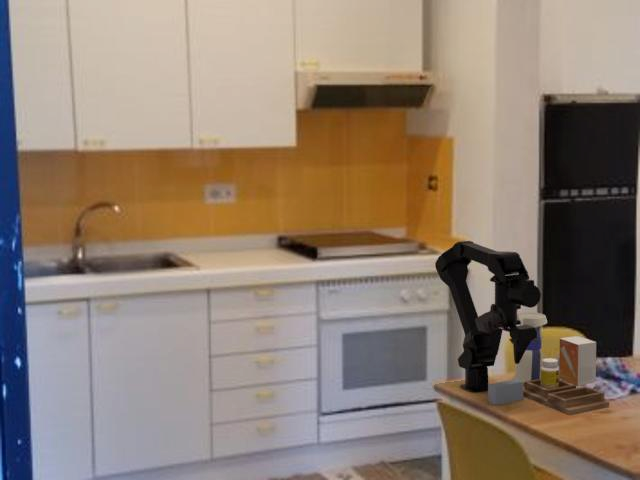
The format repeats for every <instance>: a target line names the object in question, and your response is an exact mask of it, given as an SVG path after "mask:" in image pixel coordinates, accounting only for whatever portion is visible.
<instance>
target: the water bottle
mask: <svg viewBox="0 0 640 480" xmlns="http://www.w3.org/2000/svg"><path fill="white" fill-rule="evenodd" d="M517 320H520V321H521V324H520V325H519V326H522V325H528V326H532V327H535V328H536V329H537V338H535V339H534V341H531V342H530V344H529V346H528V347H527V349H526V351H525V353H524V355H523V357H522V359H521V360H520V362H519V364H514V365H515V367H514V375H513V376H514V377H513V380H514V379H517V380H520V381H522V382H523V387H524V382H526V381H532V380H537V379H541V367H542V366H543V365H542V360H543V349H542V342H543V341H542V340H543V339H544V335H543V333H542V329H543V326H545V325H547V324H548V320H547V316H546V315H545V314H543V313H540V312H536V311H535V312H533V311H527V312H525V311H524V312H520V313H517Z"/></svg>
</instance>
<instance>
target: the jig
mask: <svg viewBox="0 0 640 480" xmlns="http://www.w3.org/2000/svg"><path fill="white" fill-rule="evenodd" d="M524 397H525V398H527V399H528V400H532V401H534V402H537V403H539V404H542V405H544V406H546V407H549V408H551V409H554V410H556V411H558V412H561V413H563V414H566V415H568V416H571V415H575V414H580V413H586V412H590V411H595V410H601V409H604V408H609V407H610V401H607V400H605V392H603V391H600V390H598V389H596V388H590V387H587V386H586V387H580V388H576V385H574V384H571V383H568V382H565V381H563V380H560V379H559V387H558V388H552V389H546V388H543V387H541V379H537V380H532V381H526V382H524V386H523V398H524Z"/></svg>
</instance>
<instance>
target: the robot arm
mask: <svg viewBox="0 0 640 480" xmlns="http://www.w3.org/2000/svg"><path fill="white" fill-rule="evenodd" d="M472 262H475V263H478V264H480V265H483V266H485V267H487V271H488V272H489V273H491V274H493V276H492V277H490V278H489V282H492V283H494V303H492V304H491V305H490V309H489V311H487V312H484V313H482V314H481V315H479V314H478V312H477V309H476V306H475V303H474V300H473V298H472V295H471V291H470V288H469V286H468V282H467V278H468V274H469V268H468V266H469V265H470V263H472ZM434 268H435V270H436V271H437V274H438V277H439V278H440V280H441V281H442V282H443V283H444V284H445V285H446V286H448V288H449V291H450V294H451V297H452V300H453V303H454V305H455V309H456V311H457V315H458V317H459V321H460V323H461V326H462V329H463V331H464V339H463V343H462V348H463V352H462V353H461V354H460V355H459V357H458V358H457V363H458V367H459V368H462V369H464V371H465V372H464V376H465V378H464V379H465V380H464V382H465V383H464V384H460V387H461V388H463V389H465V390H467V391H470V392H472V393H477V392H482V391H488V384H489V367H494V366H495V363H496V358H497V356H498V353H499V350H500V346H501V340H502V335H503V331H504V332H508V333H509V337H510V338H509V340H508V341H510V342H511V344H512V345H513V360H514V361H513V362H514V365H516V364H519V362H520V360H521V359H522V357H523V355H524V353H525V351H526V349H527V347H528V346H529V344H530V342H531V341H534V339H535V338H537V329H536V328H535V327H532V326H528V325H522V326H520V324H521V321H520V320H518V319H517V315H518V310H521V309H522V307H526V308H529V309H530V308H536V307H537V305H538V304H539V302H540V300H541V296H542V293H541V292H540V291H541V290H540V289H539V287H538V286H537V285H535V280H534V279H530V275H529V272H528V270H527V268H526V266H525V264H524V262H523V260H522V258H521V257H520V253H518V252H517V251H500V250H499V251H498V250H494V249H492V248H489V247H486V246H483V245H481V244H477V243H476V242H475V243H474V241H471V240H462V241H457V242H456V243H454V244H453V246H451V248H449V249H447V250H445V251H444V252H443V253H441V254H440V255H439V256H438V258H437V259H436V261H435V267H434ZM521 306H522V307H521Z"/></svg>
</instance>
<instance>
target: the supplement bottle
mask: <svg viewBox="0 0 640 480" xmlns="http://www.w3.org/2000/svg"><path fill="white" fill-rule="evenodd" d="M558 362H559V361H558V359H556V358H551V357H548V358H542V367H541V387H543V388H546V389H552V388H558V387H559V366H558V365H559V363H558Z"/></svg>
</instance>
